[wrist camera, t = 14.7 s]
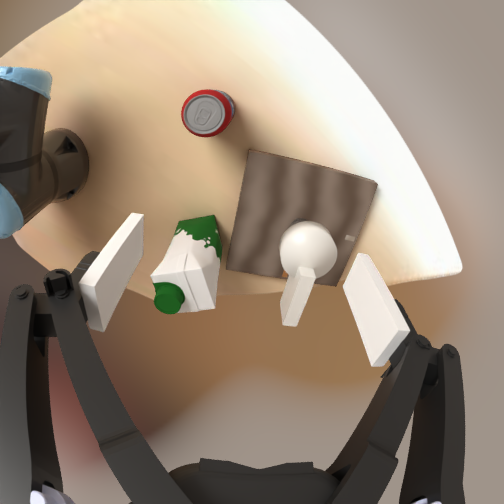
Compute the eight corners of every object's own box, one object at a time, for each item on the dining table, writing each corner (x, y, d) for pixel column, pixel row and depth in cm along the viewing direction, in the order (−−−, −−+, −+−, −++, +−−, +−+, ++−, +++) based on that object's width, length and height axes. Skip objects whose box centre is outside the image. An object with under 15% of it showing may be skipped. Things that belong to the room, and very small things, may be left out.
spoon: (286, 216, 44) (291, 234, 39) (338, 226, 45) (349, 245, 40) (263, 300, 53) (264, 323, 48) (308, 305, 54) (313, 328, 49)
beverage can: (242, 100, 42) (240, 103, 32) (223, 134, 45) (215, 147, 35) (206, 83, 40) (192, 81, 30) (188, 118, 43) (169, 126, 33)
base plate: (226, 263, 59) (225, 269, 57) (249, 149, 47) (249, 151, 45) (334, 280, 62) (336, 286, 60) (373, 180, 49) (378, 184, 47)
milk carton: (173, 217, 53) (140, 281, 36) (218, 209, 53) (203, 273, 36) (185, 255, 58) (163, 326, 41) (228, 249, 57) (219, 321, 40)
